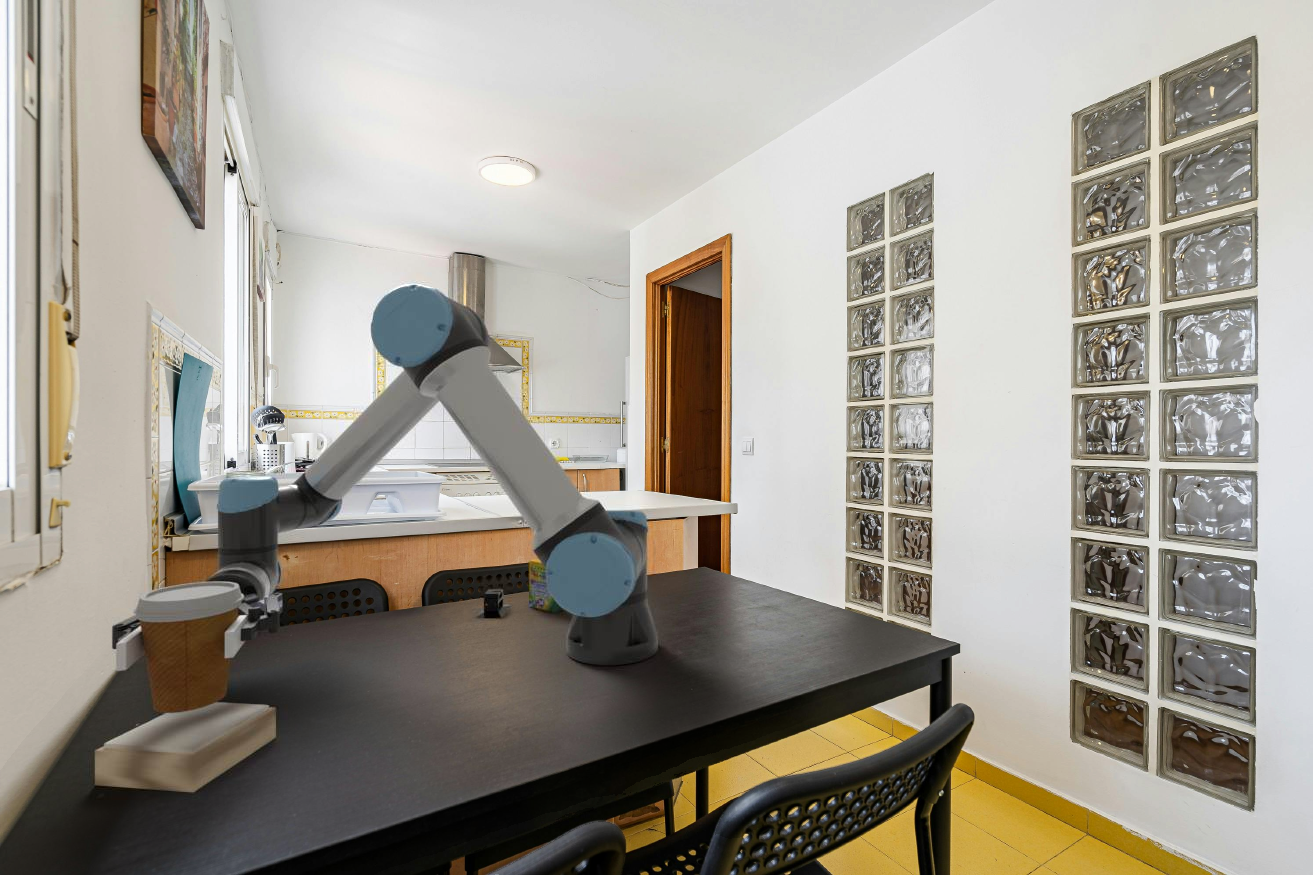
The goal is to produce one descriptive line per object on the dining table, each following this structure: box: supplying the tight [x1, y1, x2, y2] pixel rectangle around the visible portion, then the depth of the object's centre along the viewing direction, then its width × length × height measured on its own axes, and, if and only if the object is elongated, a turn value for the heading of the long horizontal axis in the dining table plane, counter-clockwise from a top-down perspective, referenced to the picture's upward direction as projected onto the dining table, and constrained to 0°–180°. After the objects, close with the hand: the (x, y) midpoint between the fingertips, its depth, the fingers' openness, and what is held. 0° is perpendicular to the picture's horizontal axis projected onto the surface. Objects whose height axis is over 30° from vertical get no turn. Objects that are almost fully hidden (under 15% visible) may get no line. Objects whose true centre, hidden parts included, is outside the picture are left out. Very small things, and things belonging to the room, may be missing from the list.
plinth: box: [94, 701, 277, 793], centre depth 66 cm, size 11×11×4 cm
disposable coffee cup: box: [133, 581, 244, 714], centre depth 66 cm, size 10×10×12 cm
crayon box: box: [528, 557, 564, 613], centre depth 124 cm, size 7×3×12 cm, turn 55°
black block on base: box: [473, 588, 512, 620], centre depth 122 cm, size 12×7×5 cm, turn 1°
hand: (176, 650), depth 62 cm, fingers closed on disposable coffee cup, 8 cm apart
